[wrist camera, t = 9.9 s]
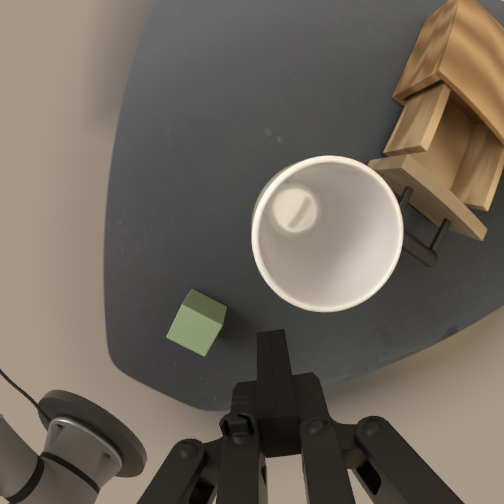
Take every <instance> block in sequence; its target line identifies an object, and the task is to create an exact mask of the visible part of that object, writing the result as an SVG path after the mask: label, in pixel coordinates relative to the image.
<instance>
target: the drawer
mask: <svg viewBox="0 0 504 504" xmlns="http://www.w3.org/2000/svg"><path fill="white" fill-rule="evenodd" d="M383 153H384V154H386V155H387V156H388V157H387V158H381V159H375V160H370V161H369V163H368V165H367V166H368V167H370V168H371V169H372V170H374V171H375V172H376V173H377V174H379V175H380V176H381V177H382V178H383V179H384V181H385V182H386V183H387V184H388V186H389V187H390V188H391V190H392V191H394V192H395V193H396V194H398V195H399V196H400V199H399V201H398V204H399V207H400V210H401V214H402V213H403V211H404V209H405V207H406V205H407V203H410V204H411V205H412V206H413V207H415V208H416V209H417V210H418V211H420V212H421V213H422V214H423V215H425V216H426V217H427V218H428V219H429V220H431V221H432V222H433V223H434V224H435V225H437V226H438V227H440V228H439V230H438V232H437V234H436V236H435V238H434V240H433V241H432V243H431V245H430V247H427V246H426V245H425V244H424V243H422V242H421V241H420V240H418V239H417V238H416V237H414V236H413V235H412V234H410V233H409V232H408V231H406V230H405V229H404V228H403V244H402V248H403V249H404V250H405V251H407V252H408V253H410V254H411V255H412V256H414V257H415V258H416V259H418V260H419V261H421V262H422V263H423V264H425V265H426V266H427V267H432V266H433V265H434V264H435V263H436V261H437V254H436V252H437V250H438V249H439V247H440V245H441V243H442V241H443V239H444V237H445V235H446V233H447V231H448V230H450V231H453V232H456V233H459V234H462V235H465V236H468V237H471V238H474V239H477V240H480V241H483V239H484V237H485V234H486V232H487V228H486V227H485V226H484V225H483V224H482V223H481V222H480V220H479V219H478V218H477V217H476V216H475V215H474V214H473V213H472V212H471V211H470V210H469V209H468V208H473V209H478V210H483V211H488V210H489V207H490V205H491V202H492V199H493V196H494V194H495V191H496V188H497V185H498V182H499V179H500V176H501V173H502V169H503V166H504V145H503V144H502V143H501V142H500V140H499V139H498V138H497V137H496V135H495V134H494V133H493V132H492V131H491V129H490V128H489V127H488V126H487V125H486V124H485V123H484V121H483V120H482V119H481V118H480V117H479V116H478V115H477V114H476V113H475V112H474V110H473V109H472V108H471V107H470V106H469V105H468V104H467V103H466V102H465V101H464V100H463V99H462V98H461V97H460V96H459V95H458V94H457V93H456V92H455V91H454V90H452V89H451V88H450V87H449V86H448V85H447V84H446V83H445V82H444V81H443V80H439V81H437V82H435V83H433V84H431V85H429V86H427V87H425V88H423V89H421V90H419V91H417V92H415V93H413V94H411V95H410V96H409V98H408V100H407V103H406V105H405V107H404V109H403V112H402V114H401V116H400V118H399V120H398V122H397V125H396V127H395V129H394V131H393V133H392V135H391V137H390V139H389V141H388V143H387V145H386V148H385V150H384V152H383ZM467 207H468V208H467Z"/></svg>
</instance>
